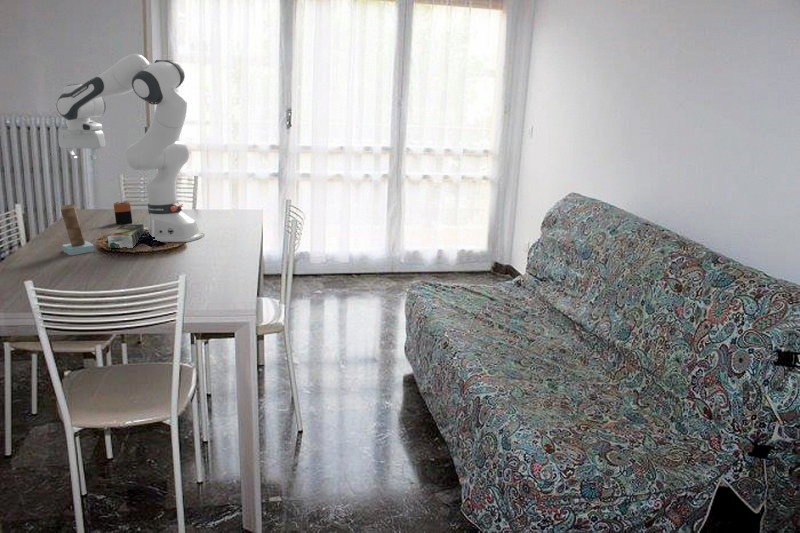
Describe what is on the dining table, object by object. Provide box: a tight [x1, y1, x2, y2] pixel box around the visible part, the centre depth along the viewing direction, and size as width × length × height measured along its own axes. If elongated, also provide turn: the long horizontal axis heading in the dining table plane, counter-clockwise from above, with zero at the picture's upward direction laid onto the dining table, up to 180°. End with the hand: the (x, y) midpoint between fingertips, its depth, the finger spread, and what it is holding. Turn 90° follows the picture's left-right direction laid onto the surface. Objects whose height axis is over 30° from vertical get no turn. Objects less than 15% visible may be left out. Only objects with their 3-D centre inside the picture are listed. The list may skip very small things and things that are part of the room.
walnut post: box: [60, 203, 86, 247], centre depth 259 cm, size 4×4×15 cm
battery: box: [113, 200, 133, 225], centre depth 309 cm, size 4×7×10 cm, turn 114°
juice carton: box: [107, 224, 145, 249], centre depth 274 cm, size 20×10×6 cm, turn 7°
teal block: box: [61, 240, 96, 256], centre depth 263 cm, size 9×9×3 cm
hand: (84, 159), depth 285 cm, fingers open, 8 cm apart
